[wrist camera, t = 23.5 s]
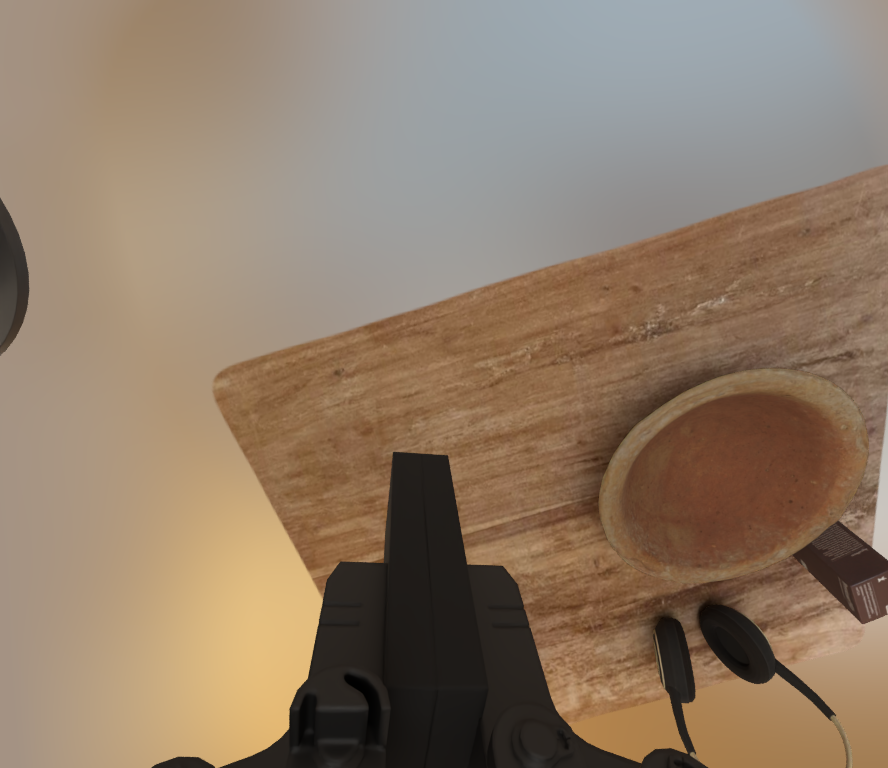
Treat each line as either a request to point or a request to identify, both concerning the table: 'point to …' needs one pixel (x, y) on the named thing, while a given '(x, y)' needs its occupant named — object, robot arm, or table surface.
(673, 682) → the headphones
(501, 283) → the table surface
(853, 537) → the box
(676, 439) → the bowl
